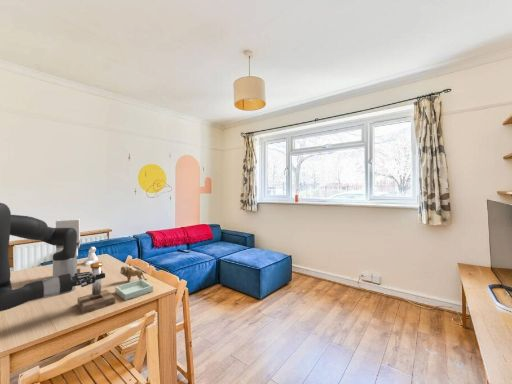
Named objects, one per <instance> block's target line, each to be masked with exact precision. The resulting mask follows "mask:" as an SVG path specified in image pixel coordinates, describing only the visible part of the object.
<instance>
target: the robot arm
mask: <svg viewBox="0 0 512 384" xmlns="http://www.w3.org/2000/svg"><path fill="white" fill-rule="evenodd" d="M11 236H13V237H18V238H20V239H26V240H32V241H41V242H44V243H45V244H49V245H51V246H55V247H56V246H62V245H63V250H62V251H60V252H57V253H56V252H55V253H53V255H52V276H51V277H48V278H44V279H41V280H35V281H31V282H28V283H25V284H24V285H23V286H22V287H17V288H14V289H13V287H12V283H11V269H10V268H11V267H10V259H9V246H10V237H11ZM76 245H77V232H76V230H75V229H74V228H56V227H50V226H48V224H47V222H46V221H44V220H42V219H38V218H37V217H34V216H30V215H18V214H12V213H11V209H10V207H9V206H8V205H7V204H6V203H3V202H0V312H3V311H7V310H11V309H13V308H17V307H18V306H21V305H23V304H26V303H27V302H32V301H35V300H39V299H43V298H48V297H53V296H58V295H61V294H66V293H70V292H72V291H74V290H75V289H76V286H77V287H81V288H84V287H87V286H90V285H92V283H95V281H96V280H98V279H101V280H102V279H105V278H106V273H105V272H103V270H101V274H98V275H92V271H86V272H85V271H84V272H80V273H75V253H76Z"/></svg>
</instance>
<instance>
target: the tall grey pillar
mask: <svg viewBox="0 0 512 384" xmlns="http://www.w3.org/2000/svg"><path fill="white" fill-rule="evenodd" d="M55 228H74V229H75V230H76V232H77V245H76V253H75V273H81V268H78V263H77V262H78V257H79V250H78V249H80V246H81V218H80V217H78V218H77V219H69V220H64V219H63V220H61V218H58V219H57V220H56V221H55ZM62 250H63V245H62V246H55V253H57V252H60V251H62Z"/></svg>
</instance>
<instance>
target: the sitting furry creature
mask: <svg viewBox="0 0 512 384" xmlns="http://www.w3.org/2000/svg"><path fill="white" fill-rule="evenodd" d="M96 251H97V248H96V247H95V246H90V248H89V249H88V255H87V259H84V260H82V264H85V267H88V266H90V265H91V264H92V263H96V262H98V261H99V258H98V256H97V255H96V253H95V252H96Z"/></svg>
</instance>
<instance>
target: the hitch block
mask: <svg viewBox="0 0 512 384" xmlns="http://www.w3.org/2000/svg"><path fill="white" fill-rule="evenodd" d="M114 304H116V297H115V296H114V295H113V294H112V293H111V292H110V291H109V290H108V289H105V290H101V294H99V295H92V293H91V294H87V295H83V296H80V297H77V306H78V307H79V308H80V310H81V311H82V312H83V314H87V313H91V312H94V311H96V310H99V309H103V308H105V307H108V306H112V305H114Z"/></svg>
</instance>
